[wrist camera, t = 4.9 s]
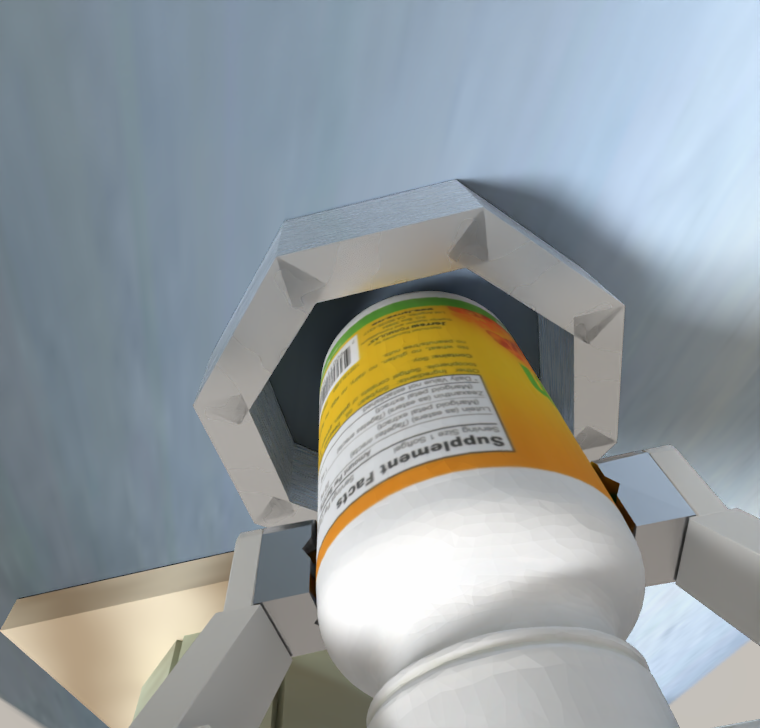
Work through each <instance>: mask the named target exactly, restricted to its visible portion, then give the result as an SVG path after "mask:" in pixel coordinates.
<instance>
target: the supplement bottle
mask: <svg viewBox="0 0 760 728" xmlns="http://www.w3.org/2000/svg"><path fill="white" fill-rule="evenodd" d="M644 594H645V570H644V565H643V561H642V556H641V552H640V550H639V547H638V545H637V542H636V540H635V538H634V536H633V534H632V533H631V531H630V529H629V527H628V525H627V523H626V522H625V520H624V518H623V516H622V514H621V513H620V511H619V509H618V508H617V506H616V504H615V503H614V501H613V499H612V498H611V496H610V495H609V493H608V491H607V490H606V488H605V486H604V485H603V483H602V481H601V480H600V478H599V476H598V475H597V473H596V472H595V470H594V468H593V467H592V465H591V463H590V462H589V460H588V459H587V457H586V455H585V454H584V452H583V451H582V449H581V447H580V446H579V444H578V442H577V441H576V439H575V438H574V436H573V434H572V433H571V431H570V429H569V428H568V426H567V424H566V423H565V421H564V419H563V418H562V416H561V414H560V412H559V411H558V409H557V408H556V406H555V404H554V403H553V401H552V399H551V398H550V396H549V395H548V393H547V391H546V390H545V388H544V387H543V385H542V383H541V382H540V380H539V379H538V377H537V376H536V374H535V372H534V371H533V369H532V368H531V366H530V364H529V363H528V361H527V359H526V358H525V356H524V354H523V353H522V351H521V350H520V348H519V347H518V345H517V343H516V342H515V340H514V338H513V337H512V335H511V334H510V333H509V332H508V330H507V329H506V327H505V326H504V325H503V324H502V322H501V321H500V320H499V319H498V318H497V317H496V316H495V315H494V314H493V313H491V312H490V311H489V310H488V309H486V308H485V307H483V306H482V305H480V304H478V303H477V302H475V301H473V300H470V299H468V298H466V297H463V296H460V295H456V294H452V293H447V292H440V291H418V292H410V293H405V294H401V295H396V296H393V297H390V298H387V299H385V300H382V301H380V302H378V303H376V304H374V305H372V306H370V307H368V308H367V309H365V310H363V311H362V312H361V313H359V314H358V315H357V316H356V317H354V318H353V319H352V320H351V321H350V322H349V323H348V324H347V325H346V326H345V327H344V328H343V329H342V330H341V332H340V333H339V334H338V335H337V337H336V338H335V340H334V341H333V343H332V345H331V347H330V349H329V350H328V353H327V355H326V358H325V361H324V365H323V369H322V375H321V384H320V400H319V460H318V516H317V555H316V598H317V615H318V622H319V628H320V632H321V636H322V639H323V642H324V645H325V647H326V650H327V652H328V654H329V656H330V658H331V659H332V661H333V662H334V664H335V665H336V667H337V668H338V669H339V671H340V672H341V673H342V674H343V675H344V676H345V677H346V678H347V679H348V680H349V681H350V682H351V683H352V684H353V685H354V686H356V687H357V688H358V689H360V690H361V691H363V692H364V693H366V694H367V695H369V696H371V697H373V700H372V702H371V704H370V707H369V709H368V713H367V718H366V723H367V728H680V727H679V725H678V723H677V721H676V719H675V717H674V715H673V713H672V711H671V709H670V707H669V705H668V703H667V701H666V700H665V698H664V696H663V694H662V692H661V690H660V688H659V686H658V684H657V682H656V681H655V679H654V677H653V675H652V674H651V673H650V670H649V667H648V665H647V662H646V660H645V658H644V657H643V656H642V654H641V653H640V652H639V651H638V650H637V649H636V648H634V647H633V646H632V645H630V644H629V643H627V642H626V639H627V638H628V636H629V634H630V633H631V631H632V629H633V627H634V626H635V624H636V622H637V620H638V617H639V614H640V611H641V609H642V605H643V600H644Z"/></svg>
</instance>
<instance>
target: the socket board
mask: <svg viewBox="0 0 760 728" xmlns="http://www.w3.org/2000/svg"><path fill="white" fill-rule="evenodd" d="M233 555H234V552H229V553H225V554H220V555H216V556H211V557H207V558H202V559H198V560H193V561H189V562H184V563H180V564H175V565H171V566H166V567H162V568H157V569H153V570H148V571H144V572H139V573H135V574H130V575H126V576H121V577H117V578H112V579H108V580H103V581H99V582H94V583H90V584H85V585H81V586H76V587H72V588H67V589H63V590H58V591H54V592H49V593H45V594H40V595H36V596H31V597H27V598H22V599H17V601H16V603H15V604H14V606H13V608H12V610H11V612H10V613H9V615H8V617H7V619H6V621H5V623H4V624H3V626H2V628H1V630H0V631H1V632H2V633H3V634H4V635H5V636H6V637H7V638H9V639H10V640H11V641H12V642H13V643H14V644H15V645H17V646H18V647H19V648H20V649H21V650H22V651H23V652H24V653H26V654H27V655H28V656H29V657H30V658H31V659H32V660H34V661H35V662H36V663H37V664H38V665H39V666H40V667H42V668H43V669H44V670H45V671H46V672H47V673H48V674H49V675H51V676H52V677H53V678H54V679H55V680H56V681H57V682H59V683H60V684H61V685H62V686H63V687H64V688H65V689H67V690H68V691H69V692H70V693H71V694H72V695H73V696H74V697H76V698H77V699H78V700H79V701H80V702H81V703H82V704H84V705H85V706H86V707H87V708H88V709H89V710H90V711H91V712H93V713H94V714H95V715H96V716H97V717H98V718H99V719H101V720H102V721H103V722H104V723H105V724H106V725H107V726H109V727H110V728H128V727H129V726H130V725H131V723H132V722H133V721H134V719H135V718H136V717H137V716H138V714H139V713H140V712H141V710H142V709H143V708H144V706H145V705H146V704H147V702H148V701H149V700H150V698H151V697H152V696H153V695H154V693H155V692H156V691H157V689H158V688H159V687H160V685H161V684H162V683H163V681H164V680H165V679H166V677H167V676H168V675H169V674H170V672H171V671H172V670H173V668H174V667H175V666H176V664H177V663H178V662H179V660H180V659H181V658H182V657H183V655H184V654H185V653H186V651H187V650H188V649H189V647H190V646H191V645H192V643H193V642H194V641H195V639H196V638H197V637H198V636H199V634H200V633H201V632H202V630H203V629H204V628H205V626H206V625H207V624H208V622H209V621H210V620H211V619H212V617H213V616H214V615H215V613H218V612H222V611H223V610H224V604H225V599H226V593H227V588H228V582H229V577H230V572H231V566H232V561H233ZM291 658H292V660H293V661H292V663H291V665H290V667H289V669H288V671H287V673H286V675H285V677H284V679H283V680H282V682H281V684H280V686H279V688H278V690H277V692H276V694H275V696H274V698H273V700H272V702H271V704H270V706H269V708H268V710H267V712H266V714H265V716H264V718H263V720H262V722H261V724H260V726H259V728H367V723H366V718H367V713H368V709H369V707H370V704H371V702H372V700H373V697H371V696H369V695H367V694H366V693H364V692H363V691H361V690H360V689H358V688H357V687H356V686H354V685H353V684H352V683H351V682H350V681H349V680H348V679H347V678H346V677H345V676H344V675H343V674H342V673H341V672H340V671H339V669H338V668H337V667H336V665H335V664H334V662H333V661H332V659H331V658H330V656H329V654H328V652H327V650H322V651H318V652H313V653H309V654H305V655H300V656H296V657H291Z"/></svg>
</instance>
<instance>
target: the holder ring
mask: <svg viewBox="0 0 760 728" xmlns="http://www.w3.org/2000/svg"><path fill="white" fill-rule="evenodd" d="M462 268H467V269H469V270H471V271H472V272H474V273H475V274H477V275H478V276H480V277H482V278H483V279H485V280H486V281H488V282H490V283H491V284H493V285H494V286H496V287H498V288H499V289H501V290H502V291H504V292H506V293H507V294H509V295H510V296H512V297H514V298H515V299H517V300H518V301H520V302H521V303H523V304H525V305H526V306H528V307H529V308H531V309H533V310H534V311H536V312H537V313H538V332H539V354H540V375H541V383H542V385H543V387H544V388H545V390H546V391H547V393H548V395H549V396H550V398H551V399H552V401H553V403H554V404H555V406H556V408H557V409H558V411H559V412H560V414H561V416H562V418H563V419H564V421H565V423H566V424H567V426H568V428H569V429H570V431H571V433H572V434H573V436H574V438H575V439H576V441H577V442H578V444H579V446H580V447H581V449H582V451H583V452H584V454H585V455H586V457H587V459H588V460H589V462H591V461H594V460H598V459H599V458H601V457H602V456H603V455H604V454H605V453H606V452H607V451H608V450H609V449H610V448H611V447H612V446H614V445H615V444H616V443H617V434H618V417H619V400H620V383H621V365H622V348H623V331H624V314H625V305H624V304H623V303H622V302H621V301H620V300H618V299H617V298H616V297H615V296H614V295H613V294H611V293H610V292H609V291H608V290H607V289H606V288H604V287H603V286H602V285H601V284H600V283H599V282H597V281H596V280H595V279H594V278H593V277H592V276H590V275H589V274H588V273H587V272H586V271H585V270H584V269H582V268H581V267H580V266H579V265H577V264H576V263H574V262H573V261H571V260H570V259H569V258H567V257H566V256H564V255H563V254H561V253H560V252H559V251H557V250H556V249H554V248H553V247H551V246H550V245H549V244H547V243H546V242H544V241H543V240H541V239H540V238H539V237H537V236H536V235H534V234H533V233H532V232H530V231H529V230H527V229H526V228H524V227H523V226H522V225H520V224H519V223H517V222H516V221H514V220H513V219H512V218H510V217H509V216H507V215H506V214H504V213H503V212H502V211H500V210H499V209H497V208H496V207H494V206H493V205H492V204H490V203H489V202H487V201H486V200H484V199H483V198H482V197H480V196H479V195H477V194H476V193H474V192H473V191H472V190H470V189H469V188H467V187H466V186H465V185H463V184H462V183H460V182H459V181H457V180H456V179H455V180H451V181H447V182H443V183H439V184H435V185H431V186H426V187H422V188H418V189H414V190H410V191H406V192H402V193H398V194H393V195H389V196H385V197H381V198H377V199H373V200H369V201H365V202H360V203H356V204H352V205H348V206H344V207H340V208H336V209H332V210H327V211H323V212H319V213H315V214H311V215H307V216H303V217H299V218H294V219H290V220H286V221H284V222H283V224H282V226H281V227H280V229H279V231H278V233H277V235H276V237H275V238H274V240H273V242H272V244H271V246H270V248H269V249H268V251H267V253H266V255H265V257H264V258H263V260H262V262H261V264H260V266H259V268H258V269H257V271H256V273H255V275H254V277H253V279H252V280H251V282H250V284H249V286H248V288H247V290H246V291H245V293H244V295H243V297H242V299H241V301H240V302H239V304H238V306H237V308H236V310H235V311H234V313H233V315H232V317H231V319H230V321H229V322H228V324H227V326H226V328H225V330H224V332H223V333H222V335H221V337H220V339H219V341H218V343H217V344H216V346H215V348H214V350H213V352H212V354H211V357H210V359H209V362H208V365H207V368H206V370H205V373H204V376H203V379H202V382H201V384H200V387H199V390H198V393H197V395H196V398H195V401H194V404H193V407H194V409H195V410H196V412H197V414H198V416H199V418H200V420H201V422H202V424H203V426H204V428H205V430H206V432H207V433H208V435H209V437H210V439H211V441H212V443H213V445H214V447H215V449H216V451H217V453H218V454H219V456H220V458H221V460H222V462H223V464H224V466H225V468H226V470H227V472H228V474H229V475H230V477H231V479H232V481H233V483H234V485H235V487H236V489H237V491H238V493H239V495H240V497H241V498H242V500H243V502H244V504H245V506H246V508H247V510H248V512H249V514H250V516H251V518H252V519H253V521H254V523H255V524H258V525H261V526H264V527H267V528H268V527H274V526H279V525H285V524H291V523H296V522H302V521H307V520H313V519H314V520H316V521H317V516H318V460H319V453H318V452H316V451H313V450H311V449H308V448H306V447H303V446H301V445H298V444H296V443H294V441H293V438H292V436H291V433H290V431H289V428H288V426H287V423H286V421H285V418H284V416H283V414H282V411H281V409H280V406H279V404H278V401H277V399H276V396H275V394H274V391H273V389H272V386H271V384H270V381H269V377H270V376H271V374H272V373H273V371H274V369H275V368H276V366H277V365H278V363H279V361H280V360H281V358H282V357H283V355H284V353H285V352H286V350H287V349H288V347H289V345H290V344H291V342H292V341H293V339H294V337H295V336H296V334H297V333H298V331H299V329H300V328H301V326H302V325H303V323H304V321H305V320H306V318H307V317H308V315H309V313H310V312H311V310H312V309H313V307H314V305H315V304H316V303H319V302H323V301H327V300H331V299H336V298H340V297H344V296H348V295H352V294H357V293H361V292H365V291H369V290H374V289H378V288H382V287H386V286H390V285H395V284H399V283H403V282H407V281H412V280H416V279H420V278H424V277H428V276H433V275H437V274H441V273H445V272H450V271H454V270H458V269H462Z"/></svg>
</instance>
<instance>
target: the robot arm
mask: <svg viewBox="0 0 760 728" xmlns="http://www.w3.org/2000/svg"><path fill="white" fill-rule="evenodd" d="M590 463H591V465H592V467H593V468H594V470H595V472H596V473H597V475H598V476H599V478H600V480H601V481H602V483H603V485H604V486H605V488H606V490H607V491H608V493H609V495H610V496H611V498H612V499H613V501H614V503H615V504H616V506H617V508H618V509H619V511H620V513H621V514H622V516H623V518H624V520H625V522H626V523H627V525H628V527H629V529H630V531H631V533H632V534H633V536H634V538H635V540H636V542H637V545H638V547H639V550H640V552H641V556H642V561H643V565H644V570H645V587H646V586H652V585H658V584H664V583H670V582H676V585H678V586H679V587H680V588H682V589H683V590H684V591H686V592H687V593H688V594H690V595H691V596H692V597H694V598H695V599H697V600H698V601H699V602H701V603H702V604H703V605H705V606H706V607H707V608H709V609H710V610H712V611H713V612H714V613H716V614H717V615H718V616H720V617H721V618H722V619H724V620H725V621H726V622H728V623H729V624H731V625H732V626H733V627H735V628H736V629H737V630H739V631H740V632H741V633H743V634H744V635H746V636H747V637H748V638H750V639H751V640H752V641H754V642H755V643H756V644H758V645H759V646H760V519H759V518H757V517H755V516H753V515H751V514H749V513H747V512H745V511H743V510H740V509H738V508H733V509H728V508H727V507H726V506H725V505H724V503H723V502H722V501H721V500H720V499H719V498H718V496H717V495H716V494H715V493H714V492H713V491H712V489H711V488H710V487H709V486H708V485H707V484H706V483H705V481H704V480H703V479H702V478H701V477H700V476H699V474H698V473H697V472H696V471H695V470H694V469H693V467H692V466H691V465H690V464H689V463H688V462H687V460H686V459H685V458H684V457H683V456H682V455H681V454H680V452H679V451H678V450H677V449H676V448H675V447H673V446H671V445H670V444H669V445H665V446H660V447H655V448H650V449H646V450H642V451H640V450H639V451H635V452H630V453H625V454H621V455H616V456H612V457H607V458H603V459H598V460H594V461H591V462H590ZM316 555H317V521H316V520H314V519H313V520H307V521H302V522H296V523H291V524H285V525H279V526H274V527H268V528H264V529H259V530H254V531H248V532H243V533H240V535H239V537H238V538H237V540H236V544H235V550H234V555H233V561H232V566H231V572H230V577H229V582H228V588H227V593H226V599H225V604H224V610H223V611H222V612H218V613H215V615H214V616H213V617H212V619H211V620H210V621H209V622H208V624H207V625H206V626H205V628H204V629H203V630H202V632H201V633H200V634H199V636H198V637H197V638H196V639H195V641H194V642H193V643H192V645H191V646H190V647H189V649H188V650H187V651H186V653H185V654H184V655H183V657H182V658H181V659H180V660H179V662H178V663H177V664H176V666H175V667H174V668H173V670H172V671H171V672H170V674H169V675H168V676H167V677H166V679H165V680H164V681H163V683H162V684H161V685H160V687H159V688H158V689H157V691H156V692H155V693H154V695H153V696H152V697H151V698H150V700H149V701H148V702H147V704H146V705H145V706H144V708H143V709H142V710H141V712H140V713H139V714H138V716H137V717H136V718H135V719H134V721H133V722H132V723H131V725H130V726H129V727H128V728H259V726H260V724H261V722H262V720H263V718H264V716H265V714H266V712H267V710H268V708H269V706H270V704H271V702H272V700H273V698H274V696H275V694H276V692H277V690H278V688H279V686H280V684H281V682H282V680H283V679H284V677H285V675H286V673H287V671H288V669H289V667H290V665H291V663H292V661H293V660H292V658H291V657H296V656H300V655H305V654H309V653H313V652H318V651H322V650H326V647H325V645H324V642H323V639H322V636H321V632H320V628H319V622H318V615H317V598H316ZM715 728H760V719H757V720H752V721H746V722H741V723H736V724H730V725H725V726H720V727H715Z"/></svg>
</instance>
